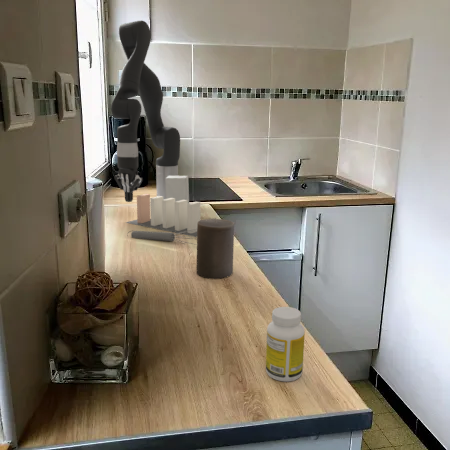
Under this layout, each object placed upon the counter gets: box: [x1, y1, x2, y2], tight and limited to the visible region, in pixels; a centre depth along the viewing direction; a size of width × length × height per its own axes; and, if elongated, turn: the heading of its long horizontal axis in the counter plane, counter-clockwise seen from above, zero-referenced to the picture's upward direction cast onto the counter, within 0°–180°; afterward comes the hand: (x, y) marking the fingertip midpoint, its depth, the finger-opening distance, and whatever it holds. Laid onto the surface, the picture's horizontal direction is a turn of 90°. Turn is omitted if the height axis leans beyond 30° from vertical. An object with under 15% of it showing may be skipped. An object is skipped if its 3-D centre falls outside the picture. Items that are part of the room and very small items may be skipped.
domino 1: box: [136, 193, 151, 223], centre depth 178 cm, size 5×2×10 cm, turn 147°
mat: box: [125, 218, 197, 238], centre depth 173 cm, size 10×32×1 cm, turn 57°
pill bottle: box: [265, 306, 306, 382], centre depth 80 cm, size 6×6×11 cm
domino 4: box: [175, 200, 188, 231], centre depth 169 cm, size 5×2×10 cm, turn 147°
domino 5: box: [187, 201, 201, 233], centre depth 166 cm, size 5×2×10 cm, turn 147°
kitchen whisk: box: [126, 229, 197, 246], centre depth 154 cm, size 6×34×6 cm, turn 69°
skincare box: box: [165, 175, 190, 204], centre depth 190 cm, size 8×7×16 cm
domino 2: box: [150, 195, 163, 226], centre depth 175 cm, size 5×2×10 cm, turn 147°
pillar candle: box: [196, 217, 236, 279], centre depth 127 cm, size 10×10×15 cm
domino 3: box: [162, 198, 175, 228], centre depth 172 cm, size 5×2×10 cm, turn 147°
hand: (129, 201), depth 181 cm, fingers closed
